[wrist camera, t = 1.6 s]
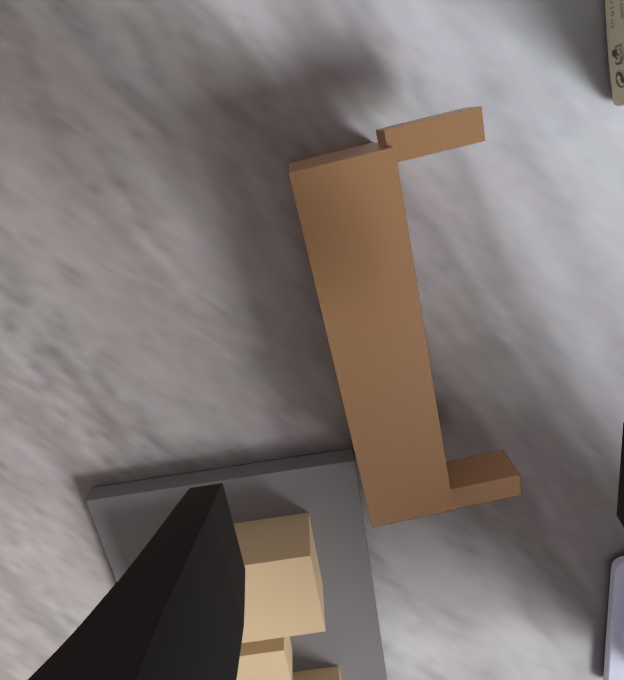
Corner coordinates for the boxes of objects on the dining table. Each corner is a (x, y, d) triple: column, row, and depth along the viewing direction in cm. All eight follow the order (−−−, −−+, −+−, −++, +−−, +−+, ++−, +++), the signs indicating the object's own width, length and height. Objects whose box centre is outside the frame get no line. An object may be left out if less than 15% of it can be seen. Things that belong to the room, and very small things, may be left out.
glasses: (443, 109, 16) (488, 105, 13) (485, 436, 21) (528, 505, 17) (285, 148, 17) (283, 155, 13) (359, 463, 21) (374, 536, 17)
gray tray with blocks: (352, 448, 20) (361, 500, 18) (393, 724, 26) (405, 795, 24) (93, 487, 21) (61, 543, 18) (191, 751, 27) (179, 825, 24)
